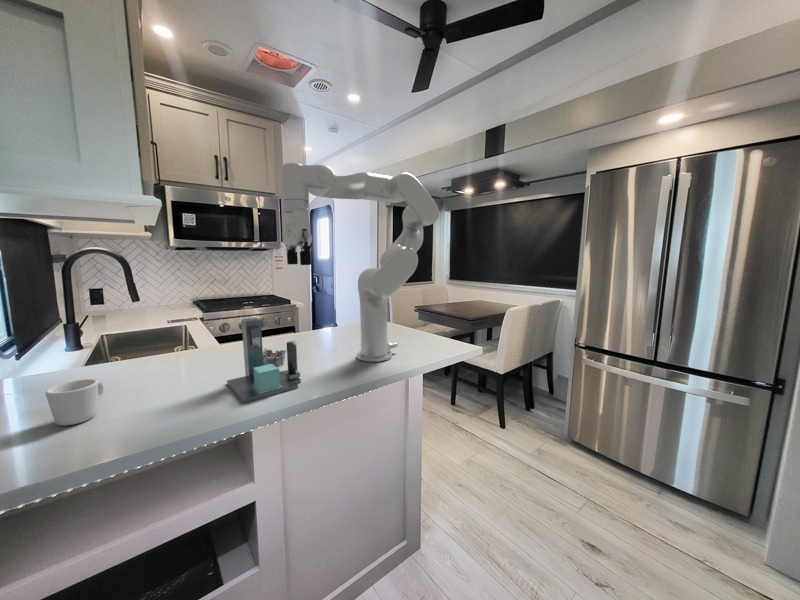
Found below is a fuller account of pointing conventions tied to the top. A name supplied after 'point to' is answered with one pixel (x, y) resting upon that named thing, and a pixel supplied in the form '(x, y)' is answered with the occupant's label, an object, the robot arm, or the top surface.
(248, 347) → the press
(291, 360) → the lever
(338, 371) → the top surface
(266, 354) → the egg carton
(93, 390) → the cup
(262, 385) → the teal cube block
